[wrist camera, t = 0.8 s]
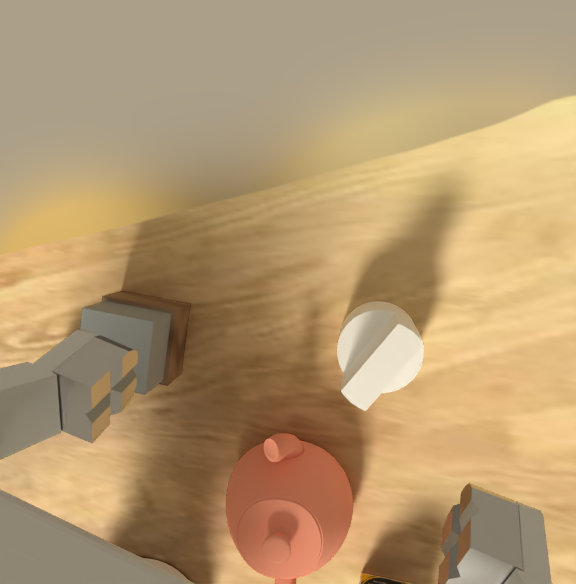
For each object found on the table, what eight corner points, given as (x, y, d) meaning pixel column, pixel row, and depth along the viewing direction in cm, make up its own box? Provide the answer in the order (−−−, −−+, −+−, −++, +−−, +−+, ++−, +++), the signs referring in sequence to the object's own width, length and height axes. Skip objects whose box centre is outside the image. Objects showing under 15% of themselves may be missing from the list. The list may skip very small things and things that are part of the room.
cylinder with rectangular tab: (383, 391, 60) (388, 432, 48) (324, 344, 60) (314, 373, 49) (434, 334, 58) (452, 362, 46) (372, 285, 59) (374, 301, 47)
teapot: (228, 396, 63) (196, 438, 51) (351, 398, 61) (348, 442, 49) (238, 560, 66) (209, 635, 54) (355, 567, 64) (353, 648, 52)
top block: (163, 380, 59) (145, 394, 54) (98, 366, 60) (75, 379, 55) (171, 313, 58) (153, 321, 53) (105, 300, 59) (82, 308, 54)
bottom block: (182, 373, 64) (167, 385, 59) (115, 359, 65) (94, 370, 60) (191, 303, 62) (176, 310, 57) (122, 290, 63) (102, 296, 59)
